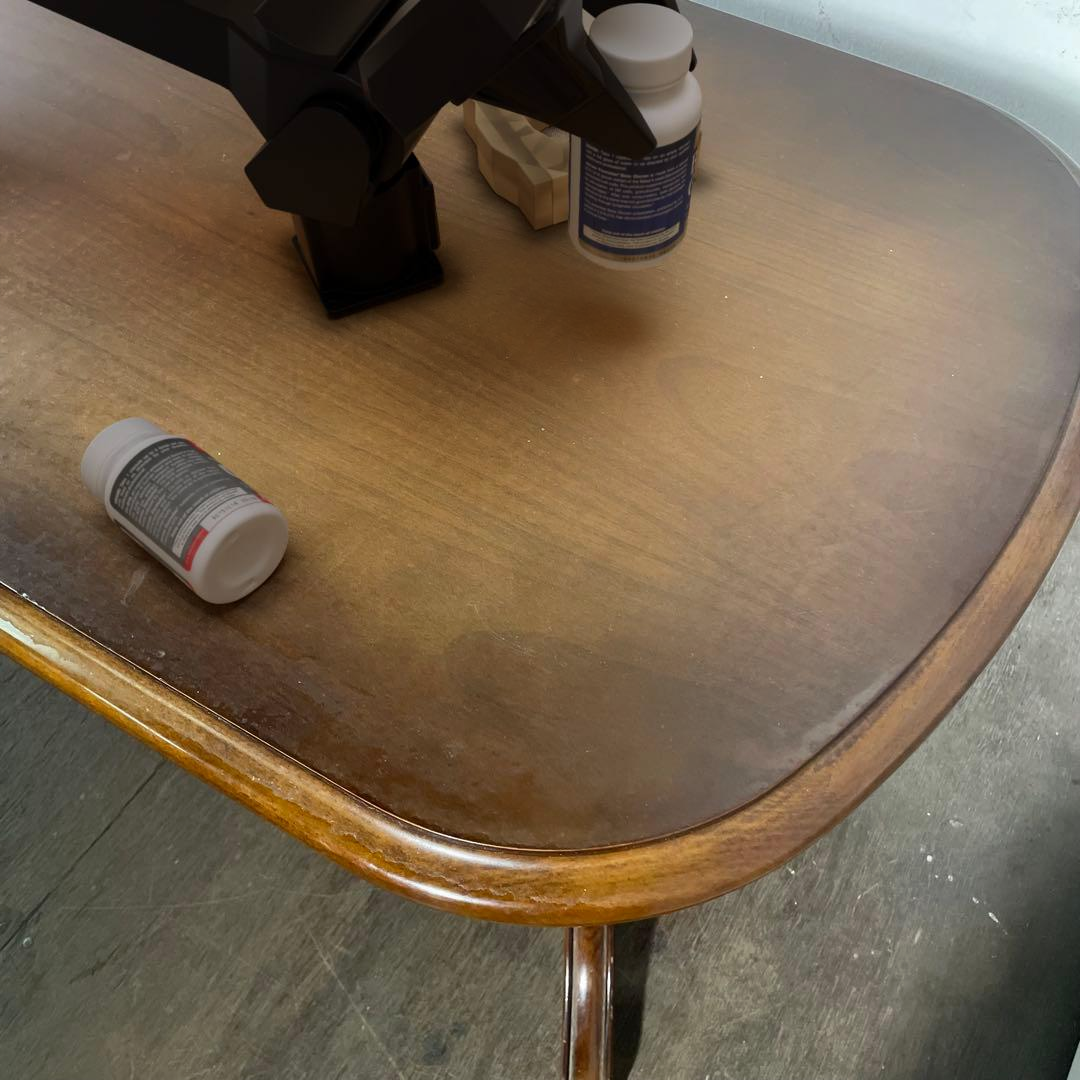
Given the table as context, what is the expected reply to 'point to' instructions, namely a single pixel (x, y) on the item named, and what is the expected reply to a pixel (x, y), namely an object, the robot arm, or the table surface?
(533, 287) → the table surface
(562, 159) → the socket plate
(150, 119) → the table surface
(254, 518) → the pill bottle
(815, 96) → the table surface
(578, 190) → the pill bottle
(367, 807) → the table surface
